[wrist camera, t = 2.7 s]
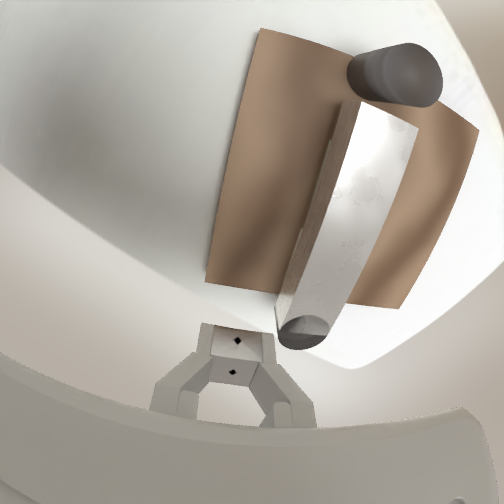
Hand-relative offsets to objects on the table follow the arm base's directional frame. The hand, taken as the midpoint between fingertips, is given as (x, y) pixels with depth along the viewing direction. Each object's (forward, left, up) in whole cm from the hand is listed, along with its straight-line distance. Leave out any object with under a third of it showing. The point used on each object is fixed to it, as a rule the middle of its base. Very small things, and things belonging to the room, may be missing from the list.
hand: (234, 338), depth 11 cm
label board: (+8, +4, -13) cm, 16 cm away
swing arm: (+6, +1, -9) cm, 12 cm away
